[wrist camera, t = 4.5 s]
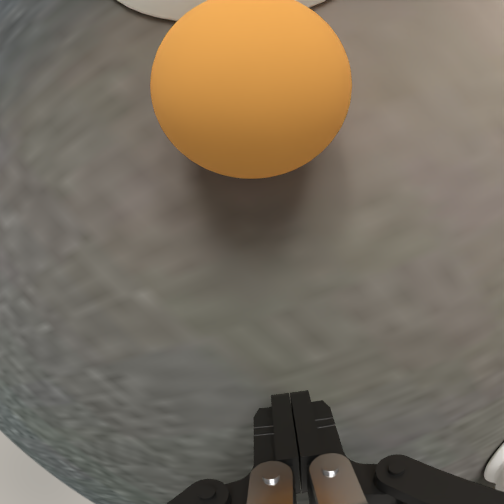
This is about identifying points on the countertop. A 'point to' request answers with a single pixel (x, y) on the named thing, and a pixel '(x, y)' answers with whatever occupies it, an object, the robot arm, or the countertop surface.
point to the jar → (496, 469)
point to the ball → (251, 86)
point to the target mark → (178, 7)
